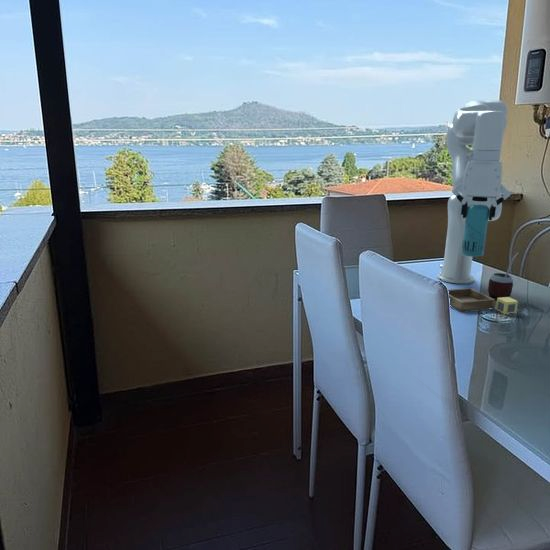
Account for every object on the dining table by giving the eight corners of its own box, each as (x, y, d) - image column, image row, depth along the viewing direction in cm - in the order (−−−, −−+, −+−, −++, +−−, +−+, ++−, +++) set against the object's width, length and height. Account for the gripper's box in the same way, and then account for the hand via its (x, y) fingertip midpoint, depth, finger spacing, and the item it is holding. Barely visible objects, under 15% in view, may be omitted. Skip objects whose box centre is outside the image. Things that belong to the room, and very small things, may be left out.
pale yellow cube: (495, 310, 140) (497, 297, 139) (506, 309, 141) (508, 296, 140) (504, 315, 137) (506, 302, 135) (516, 313, 137) (518, 301, 136)
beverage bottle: (482, 257, 143) (491, 192, 137) (484, 262, 137) (494, 195, 131) (459, 255, 145) (468, 191, 139) (460, 260, 139) (469, 194, 133)
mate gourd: (486, 300, 148) (492, 255, 144) (487, 293, 155) (493, 250, 151) (512, 304, 145) (519, 258, 141) (511, 296, 152) (518, 252, 148)
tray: (438, 299, 149) (439, 290, 148) (469, 296, 152) (471, 287, 151) (460, 312, 138) (461, 302, 137) (493, 308, 141) (495, 299, 140)
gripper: (451, 156, 132) (444, 218, 138) (519, 158, 125) (509, 223, 130) (455, 155, 139) (448, 214, 144) (519, 156, 131) (509, 219, 137)
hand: (477, 218), depth 137 cm, fingers closed on beverage bottle, 6 cm apart
